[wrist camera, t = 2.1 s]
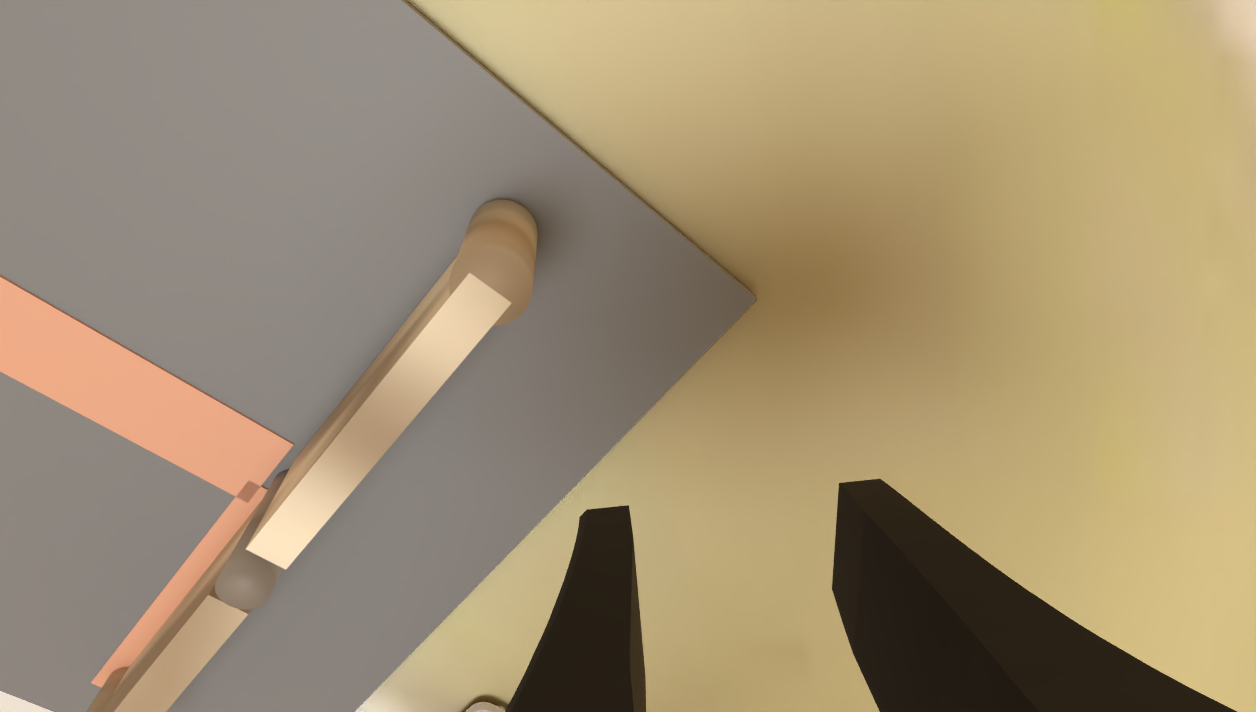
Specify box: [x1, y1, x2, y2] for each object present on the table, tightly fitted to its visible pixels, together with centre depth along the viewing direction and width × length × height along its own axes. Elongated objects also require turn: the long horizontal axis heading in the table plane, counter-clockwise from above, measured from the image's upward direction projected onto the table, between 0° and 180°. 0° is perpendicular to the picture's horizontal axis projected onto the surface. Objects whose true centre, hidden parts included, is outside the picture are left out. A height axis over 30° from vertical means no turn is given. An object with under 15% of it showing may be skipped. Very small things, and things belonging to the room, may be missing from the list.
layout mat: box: [0, 0, 757, 712], centre depth 20 cm, size 18×24×1 cm
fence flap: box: [246, 199, 538, 569], centre depth 17 cm, size 9×2×4 cm, turn 139°
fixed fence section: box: [86, 469, 289, 712], centre depth 20 cm, size 2×11×4 cm, turn 139°
